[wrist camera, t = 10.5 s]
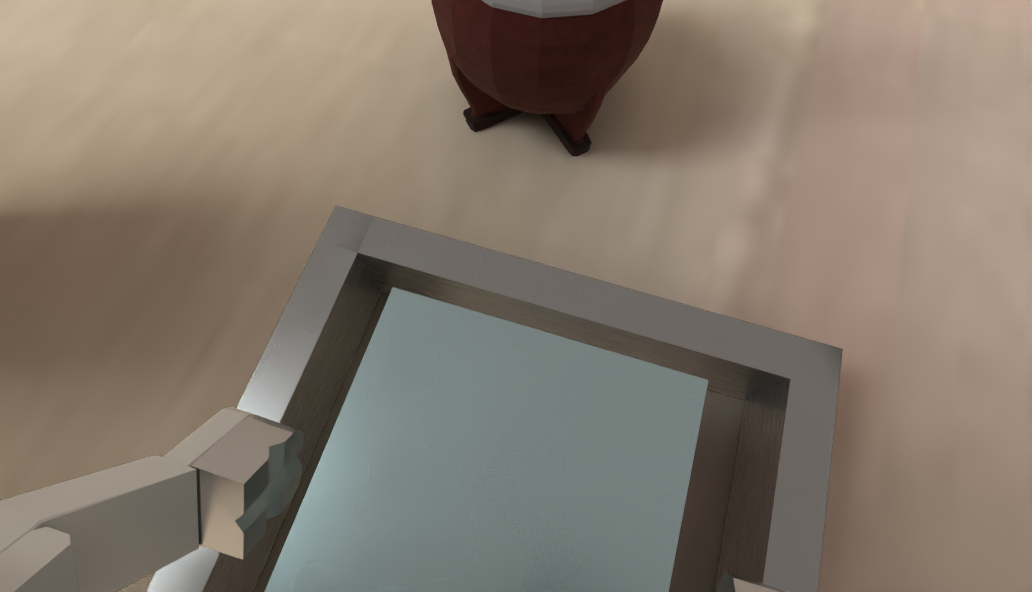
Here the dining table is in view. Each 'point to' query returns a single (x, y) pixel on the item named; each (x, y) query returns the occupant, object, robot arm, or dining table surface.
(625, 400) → the block
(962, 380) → the dining table surface
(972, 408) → the dining table surface
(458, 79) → the mate gourd
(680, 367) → the coupler bay
